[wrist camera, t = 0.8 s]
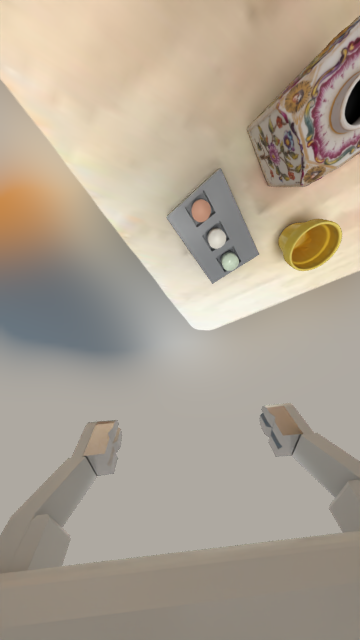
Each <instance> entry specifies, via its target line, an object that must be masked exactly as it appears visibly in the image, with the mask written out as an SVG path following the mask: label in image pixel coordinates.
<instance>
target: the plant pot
mask: <svg viewBox="0 0 360 640" xmlns="http://www.w3.org/2000/svg"><path fill="white" fill-rule="evenodd" d="M341 239H342V231H341V228H340V226H339V225H338V224H336V223H335V222H332V221H328V220H323V219H314V220H310V221H307V222H303V223H294V224H291V225H289V226H288V227H287V228H285V229H284V230H283V232H282V233H281V235H280V237H279V241H278V243H279V247H280V248H281V250H282V251H283V256H284V259H285V261H286V262H287V263H288V264H289V265H290V266H291V267H293V268H294V269H296V270H299V271H308V270H312V269H315V268H317V267H319V266H321V265H322V264H324V263H325V262H326V261H328V260H329V259H330V258H331V257H332V256H333V255H334V253H335V252H336V251H337V249H338V247H339V245H340V243H341Z"/></svg>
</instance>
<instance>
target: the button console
mask: <svg viewBox="0 0 360 640" xmlns="http://www.w3.org/2000/svg"><path fill="white" fill-rule="evenodd" d="M198 199H203V200H205V201H207V202H208V203H209V205H210V207H211V213H210V216H209V218H208V219H207V220H206V221H204V222H197V221H196V220H195V219H194V218H193V216H192V212H191V208H192V205H193V203H194V202H195V201H196V200H198ZM166 218H167V219H168V220H169V222H170V223H171V225H172V226H173V228H174V229H175V230H176V232H177V233H178V235H179V236H180V238H181V239H182V241H183V242H184V243H185V245H186V246H187V248H188V249H189V251H190V252H191V254H192V255H193V256H194V258H195V259H196V261H197V262H198V264H199V265H200V266H201V268H202V269H203V271H204V272H205V274H206V275H207V277H208V278H209V279H210V281H211V282H212V284H213V283H214V282H216V281H218V280H219V279H221V278H222V277H224V276H226V275H227V274H229V273H230V272H232V271H234V270H235V269H237V268H238V267H240V266H242V265H243V264H245V263H246V262H248V261H249V260H251V259H253V258H254V257H256V256H257V255H259V253H258V251H257V249H256V246H255V244H254V242H253V240H252V237H251V235H250V233H249V231H248V228H247V226H246V224H245V222H244V219H243V217H242V215H241V213H240V210H239V208H238V206H237V204H236V201H235V199H234V197H233V195H232V193H231V190H230V188H229V186H228V184H227V181H226V179H225V177H224V175H223V172H222V170H221V168H219V169H217V170H216V171H215V172H214V173H213V174H212V175H211V176H210V177H209V178H208V179H207V180H205V181H204V182H203V183H202V184H201V185H200V186H199V187H198V188H197V189H196V190H195V191H193V192H192V193H191V194H190V195H189V196H188V197H187V198H186V199H185V200H184V201H183V202H181V203H180V204H179V205H178V206H177V207H176V208H175V209H174V210H173V211H172V212H171V213H169V214H168V215H167V217H166ZM213 228H220V229H221V230H222V231H223V232H224V233H225V235H226V242H225V244H224V245H223V246H222V247H221V248H218V249H214V248H212V247H211V246H210V244H209V242H208V239H207V236H208V233H209V231H210V230H211V229H213ZM226 252H233V253H234V254H235V255H236V256H237V258H238V259H239V264H238V266H237V268H235V269H234V270H232V271H227V270H225V269H224V267H223V265H222V263H221V257H222V255H223V254H224V253H226Z"/></svg>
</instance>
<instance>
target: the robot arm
mask: <svg viewBox="0 0 360 640" xmlns="http://www.w3.org/2000/svg"><path fill="white" fill-rule="evenodd" d="M262 412H263V413H262V414H261V415H260V425H261V427H262V430H263V432H264V434H265V435H267V436H268V437H269V444H270V446H271V448H272V450H273V452H274V454H275V456H276V457H277V456H292V457H293V458H294V459H295V460H296V461H297V462H299V464H300V465H301V466H303V467H304V468H305V469H306V470H307V471H308V472H309V473H310V474H311V475H312V476H313V477H314V478H315V479H316V480H317V481H318V482H319V483H320V484H321V485H323V487H325V488H326V489H327V490H328V491H329V492H330V493H331V494H332V495H333V496H334V497H335V499H334V500H333V502H332V503H331V504H330V507H329V510H330V511H331V513H332V515H333V516H334V518H335V520H336V522H337V523H338V525H339V526H340V528H341V530H342V532H343V533H336V534H328V535H320V536H312V537H303V538H294V539H286V540H278V541H269V542H261V543H253V544H244V545H235V546H228V547H219V548H210V549H202V550H194V551H186V552H177V553H168V554H160V555H152V556H143V557H136V558H126V559H118V560H110V561H101V562H93V563H84V564H76V565H68V566H62V564H63V561H64V558H65V555H66V552H67V548H68V546H69V542H70V535H69V534H68V533H67V532H66V531H65V530H64V529H63V528H62V527H63V526H64V524H65V523H66V521H67V520H68V518H69V517H70V516H71V514H72V513H73V511H74V510H75V508H76V507H77V505H78V504H79V503H80V501H81V500H82V498H83V497H84V495H85V494H86V492H87V491H88V489H89V488H90V487H91V485H92V484H93V482H94V481H95V479H96V477H97V476H100V475H107V474H114V471H115V467H116V463H117V459H118V458H117V455H116V453H117V451H118V450H119V449H120V446H121V439H122V432H121V429H120V428H118V425H119V424H118V421H117V420H112V421H99V422H89V423H88V424H87V425H86V426H85V428H84V431H83V433H82V435H81V437H80V440H79V441H78V444H77V446H76V448H75V450H74V453H73V455H72V457H71V458H68V459H67V460H66V461H65V462H64V463H63V464H62V465H61V466H60V467H59V468H58V469H57V470H56V471H55V472H54V473H53V474H52V475H51V476H50V477H49V478H48V479H47V480H46V481H45V482H44V483H43V484H42V486H40V487H39V489H38V490H37V491H36V492H35V493H34V494H33V495H32V496H31V497H30V498H29V499H28V500H27V501H26V502H25V503H24V504H23V505H22V506H21V507H20V508H19V509H18V510H17V511H16V512H15V513H14V514H13V515H12V516H11V518H10V520H9V521H8V523H7V525H6V526H5V528H4V530H3V532H2V533H1V535H0V640H360V461H358V460H357V459H355V458H354V457H352V456H351V455H349V454H348V453H346V452H345V451H343V450H342V449H341V448H339V447H338V446H336V445H335V444H333V443H332V442H330V441H329V440H327V439H325V438H324V437H323V436H321V435H320V434H318V433H314V432H313V431H312V429H311V428H310V427H309V425H308V424H307V423H306V421H305V420H304V419H303V418H302V416H301V415H300V414H299V412H298V411H297V410H296V408H295V407H294V406H293V405H292V404H291V403H285V404H273V405H265V406H263V407H262Z"/></svg>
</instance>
